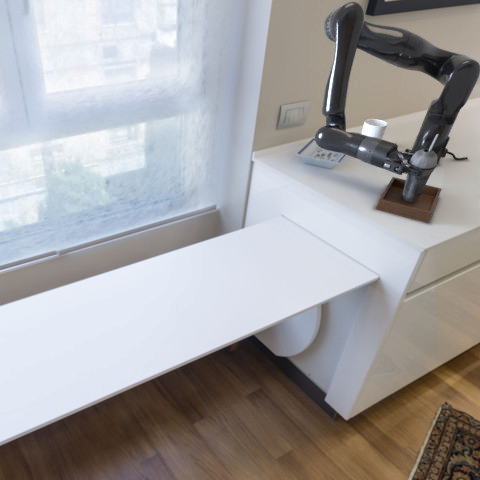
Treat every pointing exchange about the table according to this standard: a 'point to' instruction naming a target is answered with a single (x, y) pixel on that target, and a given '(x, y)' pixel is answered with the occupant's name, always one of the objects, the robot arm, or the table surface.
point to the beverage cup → (414, 184)
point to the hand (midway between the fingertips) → (428, 169)
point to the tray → (414, 210)
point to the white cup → (374, 128)
